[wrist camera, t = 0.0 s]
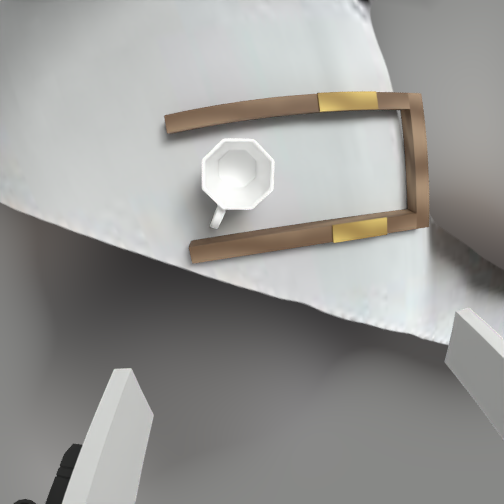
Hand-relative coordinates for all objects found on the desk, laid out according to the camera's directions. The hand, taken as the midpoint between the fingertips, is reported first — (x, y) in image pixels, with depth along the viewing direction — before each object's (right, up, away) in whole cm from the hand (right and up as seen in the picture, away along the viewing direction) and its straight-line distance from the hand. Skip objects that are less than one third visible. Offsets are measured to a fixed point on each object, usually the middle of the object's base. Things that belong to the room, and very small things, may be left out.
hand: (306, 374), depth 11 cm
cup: (-4, +13, +25) cm, 29 cm away
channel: (+4, +14, +25) cm, 29 cm away
